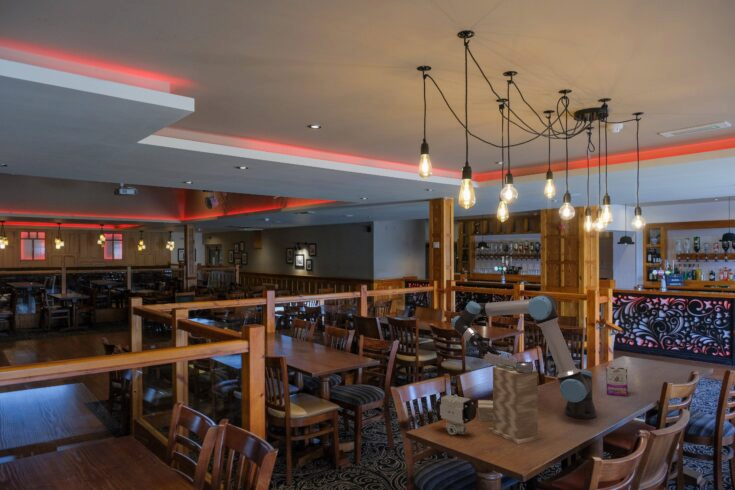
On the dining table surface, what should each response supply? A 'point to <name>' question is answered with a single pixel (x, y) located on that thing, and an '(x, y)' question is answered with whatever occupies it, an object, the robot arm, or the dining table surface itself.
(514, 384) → the oak stand
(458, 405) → the ball valve
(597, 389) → the dining table surface
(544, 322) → the robot arm
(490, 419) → the beech block
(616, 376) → the candy bar box
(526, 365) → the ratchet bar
